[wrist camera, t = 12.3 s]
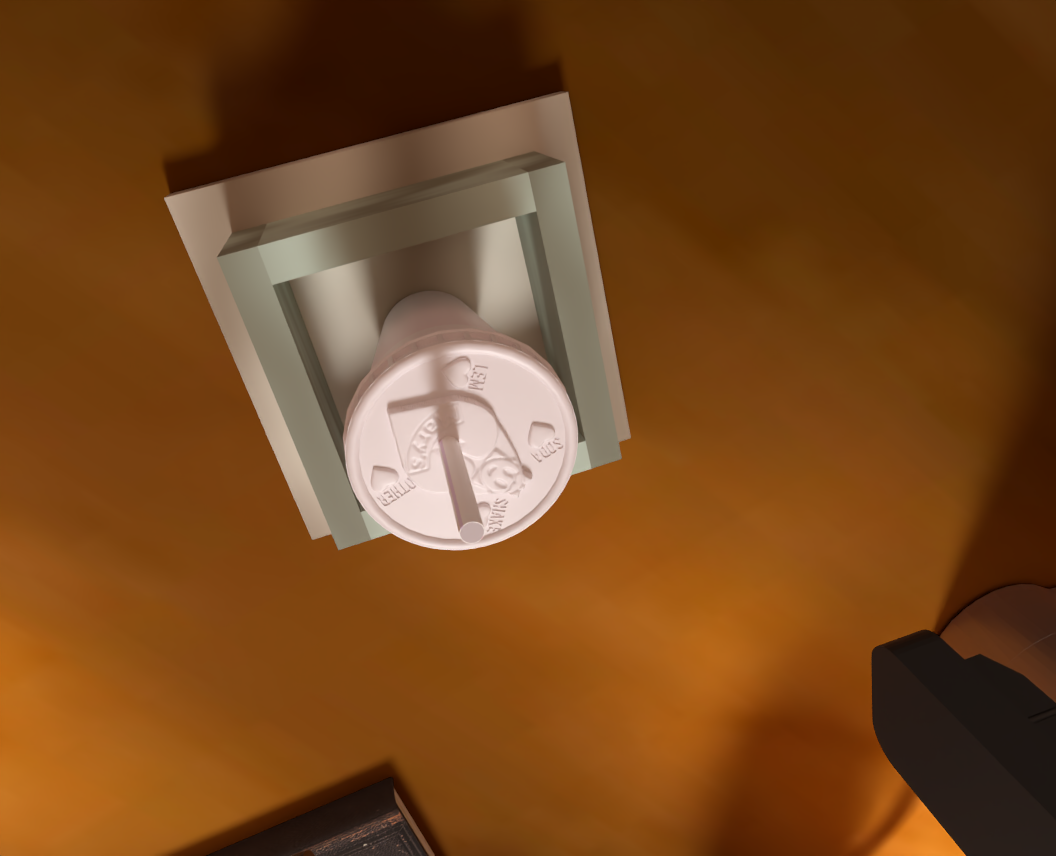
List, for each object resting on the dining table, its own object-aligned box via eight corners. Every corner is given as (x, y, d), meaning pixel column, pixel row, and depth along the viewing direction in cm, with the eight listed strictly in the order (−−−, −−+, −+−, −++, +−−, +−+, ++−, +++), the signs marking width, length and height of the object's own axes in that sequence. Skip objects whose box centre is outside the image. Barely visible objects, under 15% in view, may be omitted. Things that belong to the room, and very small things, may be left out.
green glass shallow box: (560, 91, 27) (605, 94, 23) (622, 428, 34) (667, 481, 29) (170, 193, 26) (137, 217, 21) (312, 527, 32) (310, 598, 28)
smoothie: (405, 218, 27) (454, 350, 14) (546, 314, 29) (689, 494, 17) (311, 363, 28) (282, 595, 16) (453, 442, 31) (523, 694, 19)
